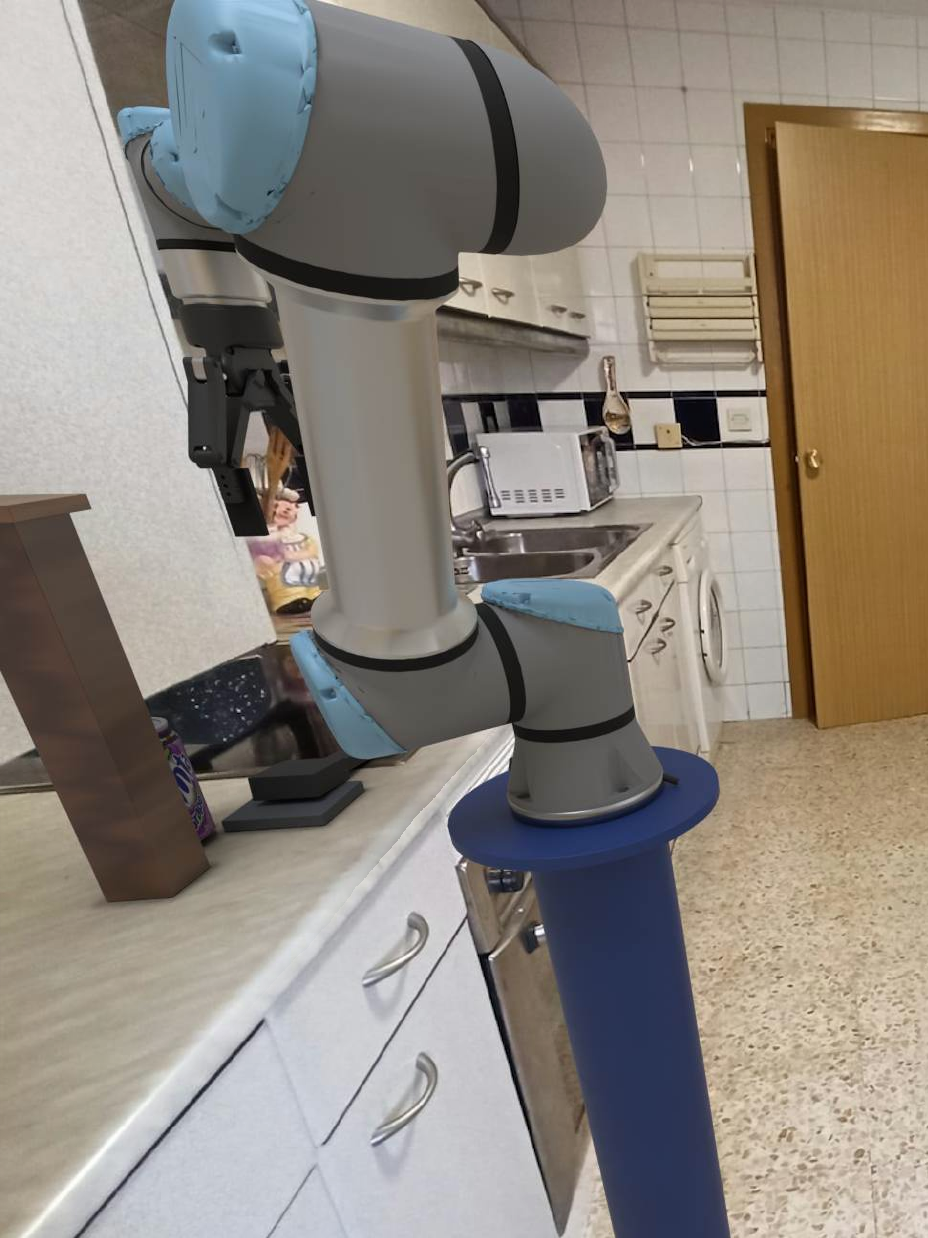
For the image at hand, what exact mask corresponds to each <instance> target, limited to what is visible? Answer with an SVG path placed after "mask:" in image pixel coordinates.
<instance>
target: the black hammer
mask: <svg viewBox="0 0 928 1238" xmlns="http://www.w3.org/2000/svg"><path fill="white" fill-rule="evenodd" d="M369 760H370V759H359V758H355V757H352V756H350V755H348V754H347V753H346V752H345V751H344V750H343V749H342V748H341V749H339V750H337V751H335V752H334V753H332V754H330V755H329V754H328V756H326V757H322V758H303V759H301V758H300V759H288V760H287V759H285V760H283V761H280V762H278V763H276V764H274V765H272V766H270V767H267V768H266V769H263V770H262V771H259V772H257V773H255V774H253V775H250V776H248V777H247V781H248V785H249V790H250V793H251V796H252V799H253V801H263V800H279V799H295V798H312V797H319V796H321V795H323V794H324V793H326V792H328V791H330V790H331V789H333V788H335V787H337V786H338V785H340V784H342V783H343V782H346V781H350V779H351V776H350V772H349V771H351V770H352V769H355V768H356V767H358V766H360V765H361V764H364V763H365V762H367V761H369Z"/></svg>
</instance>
